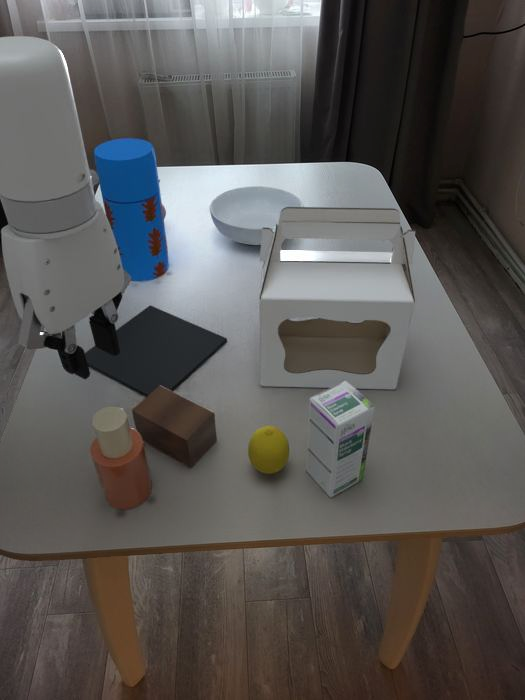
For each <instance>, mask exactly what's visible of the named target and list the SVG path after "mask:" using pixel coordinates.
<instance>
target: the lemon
mask: <svg viewBox="0 0 525 700" xmlns="http://www.w3.org/2000/svg"><path fill="white" fill-rule="evenodd" d="M247 452H248V453H247V454H248V459H249V461H250V463H251V465H252V466H253V468H254V469H255V470H257V471H258V472H259V473H263V474H266V475H270V474H275V473H278V472H280V471H281V470H282V469H283V468H284V467H285V466H286V464H287V463H288V460H289V457H290V444H289V440H288V438H287V436H286V433H284V432H283V430H281V428H278V427H277V426H274V425H264V426H261V427H259V428H257V429H256V430H255V431H254V432H253V434H252V435H251V437H250V439H249V441H248V446H247Z"/></svg>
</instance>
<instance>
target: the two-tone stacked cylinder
mask: <svg viewBox="0 0 525 700" xmlns="http://www.w3.org/2000/svg"><path fill="white" fill-rule="evenodd" d="M91 424H92V428H93V431H94V434H95V438H94V439H93V441H92V443H91V445H90V448H89V451H90V457H91V460H92V463H93V466H94V470H95V472H96V475H97V478H98V481H99V484H100V487H101V490H102V494H103V497H104V500H105V501H106V502H107V504H108V505H109V506H110V507H112V508H114V509H118V510H130V509H134V508H136V507H138V506H140V505H142V504H143V503H144V502H145V501H147V500H148V498H149V497H150V496H151V493H152V490H153V480H152V476H151V472H150V468H149V462H148V458H147V453H146V451H145V445H144V441H143V440H142V437H141V435H140V434H139V433H138V432H137V431H136V429H135V428H132V427H130V424H129V420H128V415H127V412H126V411H125V409H123V408H122V407H120V406H115V405H114V406H106V407H103V408H101V409H99V410H98V411H96V412H95V414H94V415H93V416H92V419H91Z"/></svg>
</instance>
